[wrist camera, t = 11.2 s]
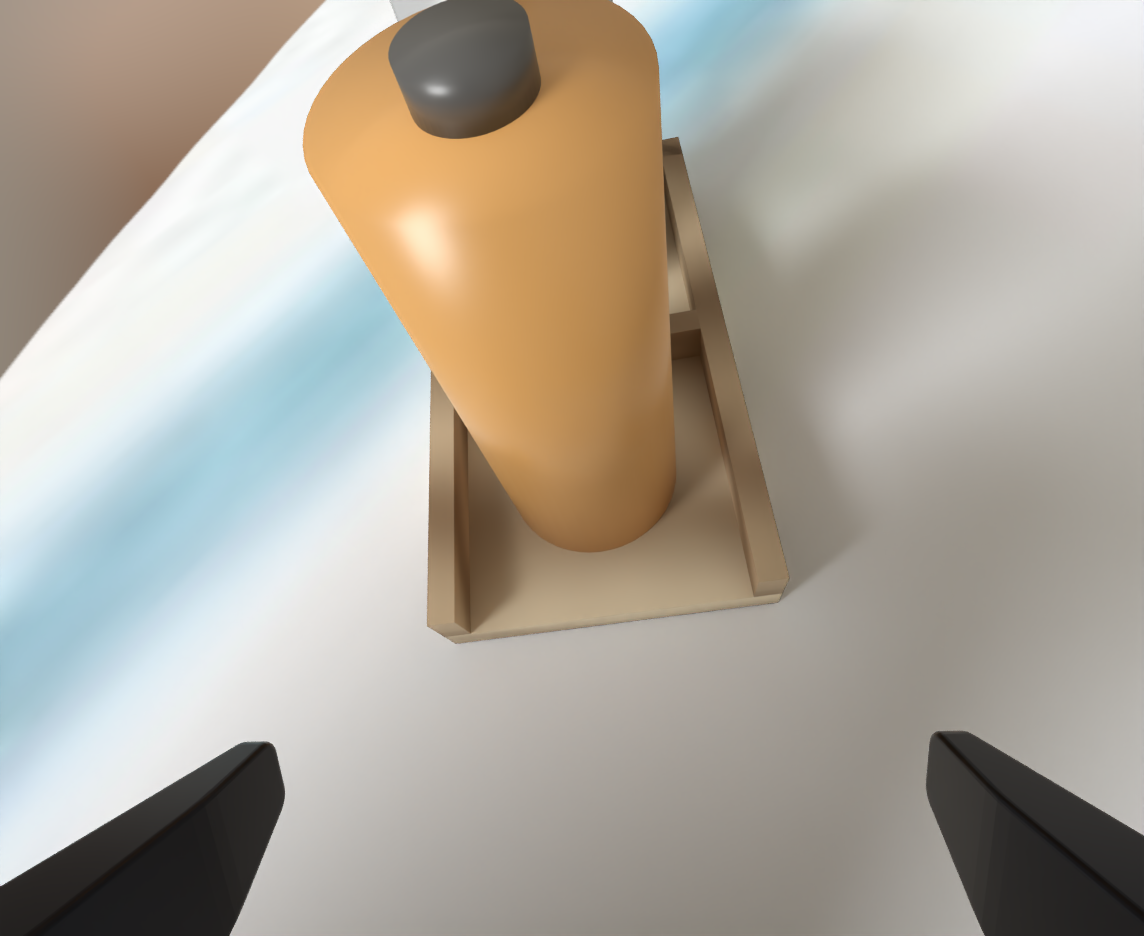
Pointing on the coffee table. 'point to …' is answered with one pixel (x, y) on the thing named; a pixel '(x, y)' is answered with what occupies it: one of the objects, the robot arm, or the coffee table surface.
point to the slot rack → (665, 552)
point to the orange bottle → (521, 241)
